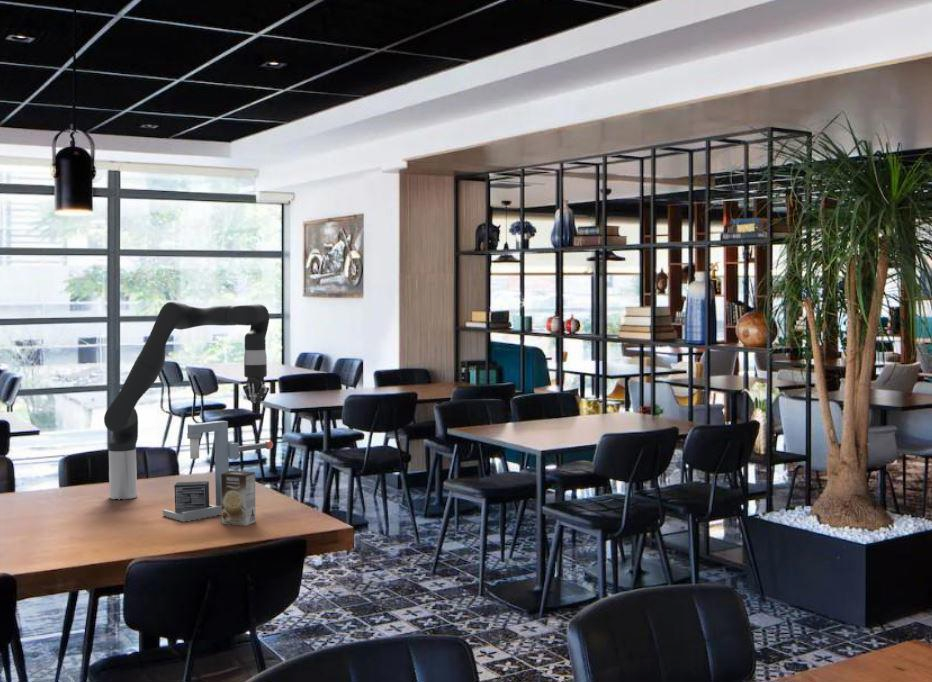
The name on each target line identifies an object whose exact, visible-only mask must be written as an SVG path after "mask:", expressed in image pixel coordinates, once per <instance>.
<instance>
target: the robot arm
mask: <svg viewBox="0 0 932 682" xmlns="http://www.w3.org/2000/svg"><path fill="white" fill-rule="evenodd" d="M269 324H270V313H269V310H268V308H267V307H266V306H265V305H263V304H260V303H259V304H258V303H257V304H241V305H239V304H238V305H236V304H224V305H223V304H222V305H214V306H210V307H197V306H191V305H187V304H186V303H183V302H182V303H181V302H177V301H168V302H166V303H165V304H164V305H163V306H162V307H161V309H160V310H159V312H158V314H157V317H156V318H155V322H154V325H153V327H152V329H151V330H150V334H149V336H148V338H147V340H146V341H145V343H144V345H143V347H142V349H141V351H140V353H139V354H138V355H137V358H136V360H135V361H134V363H133V366H132V367H131V369H130V371H129V373H128V375H127V377H126V379H125V380H124V382H123V385H122V387H121V388H120V390H119V392H118V393H117V395H116V397H115V399H113V401H112V403H110V405H109V406H108V408H107V410H106V411H105V414H104V417H103V423H104V427H106V429H107V430H108V431H110V432H112V436H111V439H110V441H109V442H108V482H109V484H108V485H109V489H108V491H109V499H110V498H111V500H115V499H118V501H119V500H120V499H123V500H131V499H134V498H137V497H138V477H137V476H138V475H137V474H138V473H137V471H138V470H137V442H138V439H139V438H138V437H139V416H138V413H137V410H136V406H137V403H138V402H139V401H140V399H141V398H142V397H143V395H145V394H146V392H147V391H148V390H150V388H151V387H152V386H153V385H154V384H155V382H156V381H157V379H158V377H159V375H160V374H161V372H162V370H163V368H164V365H165V361H166V347H167V342H168V340H169V338H170V336H171V335H172V333H173V332H174V330H180V331H181V330H187V329H192V328H196V327H202V326H224V327H225V326H250V329H249V332H247V333H245V335H244V353H243V354H244V355H243V367H244V370H243V374H244V375H243V376H244V377H245V378H247V379H246V384H245V385H242V390H243V392H244V394H245V397H246V398H247V401H250V403H251V413H252V415H260V414H261V403H262V402H264V401H265V399H266V397H267V395H268V393H269V390H270V388H269V387H266V385H265V384H266V382H265V377H267V376H268V375H267V374H268V369H267V368H268V367H267V365H268V364H267V351H266V348H267V347H266V337H267V331H268V329H269V328H268V327H269Z"/></svg>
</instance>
